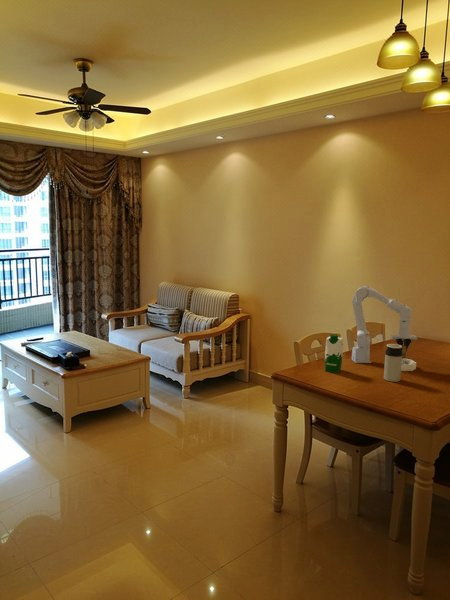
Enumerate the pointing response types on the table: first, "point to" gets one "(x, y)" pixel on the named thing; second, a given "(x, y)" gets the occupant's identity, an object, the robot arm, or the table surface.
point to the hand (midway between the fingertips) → (402, 351)
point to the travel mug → (393, 363)
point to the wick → (403, 352)
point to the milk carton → (333, 353)
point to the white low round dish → (408, 365)
